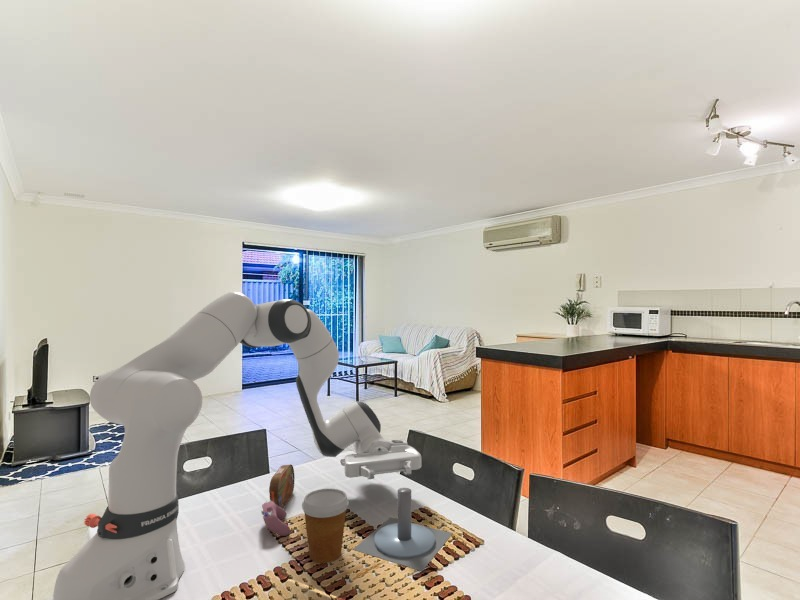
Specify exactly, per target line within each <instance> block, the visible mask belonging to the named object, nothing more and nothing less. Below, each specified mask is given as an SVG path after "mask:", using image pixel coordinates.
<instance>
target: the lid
mask: <svg viewBox="0 0 800 600" xmlns="http://www.w3.org/2000/svg"><path fill="white" fill-rule="evenodd" d="M397 519H398V523H395V524H390V525H387V526H385V527H383V528H381V529H380V530H378V531H377V533H376V534H375V537H374V543H375V546H376V548H377V549H378V550H379V551H380V552H382V553H384V554H386V555H388V556H392V557H396V558H413V557H418V556H421V555H424V554H426V553H428V552H429V551H430V550H431V549H432V548H433V547H434V543H435V537H434V534H433V533H432V532H431V531H430V530H429V529H428V528H426V527H424V526H425V525H423V526H421V525H422V524H419V525H418V523H415V524H414V522H412V489H411V488H409V487H400V488H398V489H397Z"/></svg>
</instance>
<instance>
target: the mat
mask: <svg viewBox="0 0 800 600" xmlns="http://www.w3.org/2000/svg"><path fill="white" fill-rule="evenodd" d="M395 523H398V518H395V517H389V518H388V519H387V520H385V521H384V522H383V523H382V524H381V525H379V526H378V527H377V528H376V529H375V530H374V531H373V532H371V533H370V534H369V535H368V536H367V537H365V538H364V539H363V540H362V541H361V542H359V543H358V544H357V545H355V547H353V549H352V551H356V552H359V553H362V554H365V555H369V556H372V557H375V558H377V559H381V560H385V561H387V562H392V563H394V564H398V565H401V566H404V567H407V568H411V569H413V570H416V571H420V572H423V571H424V570H425V568H426V567H428V566H429V563H430V562H431V561H432V560H433V559H434V557H435V556H436V555H437V553H438V552H439V551H440V550H441V549H442V548H443V546H444V545H445V543H447V542H448V540H449V539H450V537H451V536H452V535H453V534H454V533H453V532H449V531H447V530H442V529H437V528H434V527H431V526H426V525H422V524H418V523H417V524H418V525H421V526H424V527H426V528H428V529H429V530H430V531H431V532H432V533H433V534H434V537H435V543H434V547H433V548H432V549H431V550H430V551H429V552H428V553H426V554H424V555H421V556H418V557H413V558H396V557H392V556H388V555H386V554H384V553H382V552H380V551H379V550H378V549H377V548H376V546H375V543H374V537H375V534H376V533H377V531H378V530H380V529H381V528H383V527H385V526H387V525H390V524H395ZM413 523H414V522H413ZM414 524H416V523H414Z"/></svg>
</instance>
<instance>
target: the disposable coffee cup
mask: <svg viewBox="0 0 800 600" xmlns="http://www.w3.org/2000/svg"><path fill="white" fill-rule="evenodd" d="M347 497H348V495H347V493H346V492H344V491H343V490H340V489H338V488H321V489H317V490H312V491H310V492H308V493H307V494H306V495H305V496H304V498H303V501H302V504H301V509H302V511H303V512H304V519H305V520H304V521H305V529H306V537H307V538H306V539H307V544H308V554H309V555H308V556H309V559H310V560H311V561H312V562H314V563H319V564H327V563H331V562H335V561H336V560H338V559H339V558H340V557H341V554H342V548H343V538H344V532H345V523H346V516H347V515H346V514H347V509H348V506H349V504H350V502H349V499H348V498H347Z"/></svg>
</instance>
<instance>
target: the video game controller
mask: <svg viewBox="0 0 800 600" xmlns="http://www.w3.org/2000/svg"><path fill="white" fill-rule="evenodd" d="M261 507H262V510H260V511H261V512H260V513H261V514H262V519H263V522H264V524H265V526H266V527H267V529H268V531H270V532H271V533H272V534H276V535H278V536H281V537H285V536H289V535H290V533H291V528H290V526H289V525H288V524H286V523H285V522H284V521H282V520H284V519H285V518H287V514H288V513H287V511H286V510H285V508H284V509H283V508H281V507H279V506H278V505H276V504H275V503H274V502H273V501H271V500H270V499H269V501H265V502H264V503H263V504H262V505H261Z"/></svg>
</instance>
